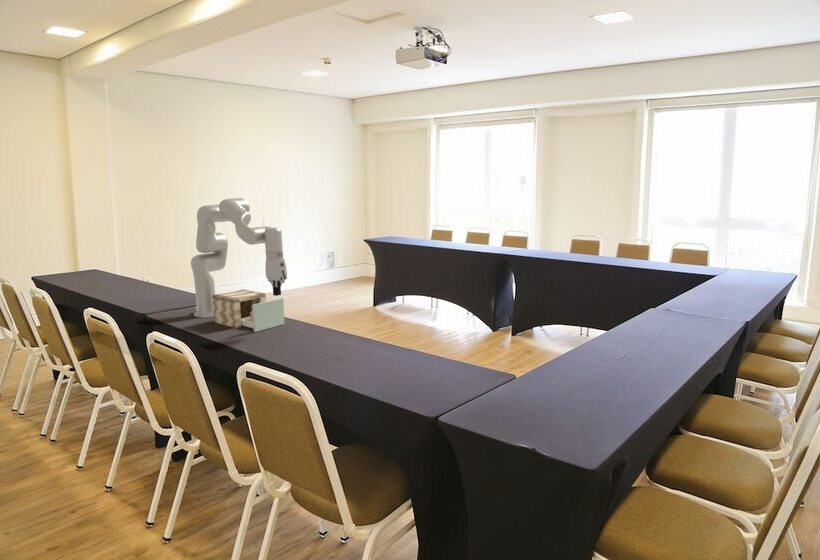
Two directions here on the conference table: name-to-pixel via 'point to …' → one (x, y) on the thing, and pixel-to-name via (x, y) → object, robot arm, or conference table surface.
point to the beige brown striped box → (235, 306)
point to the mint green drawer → (265, 315)
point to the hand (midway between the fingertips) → (277, 295)
